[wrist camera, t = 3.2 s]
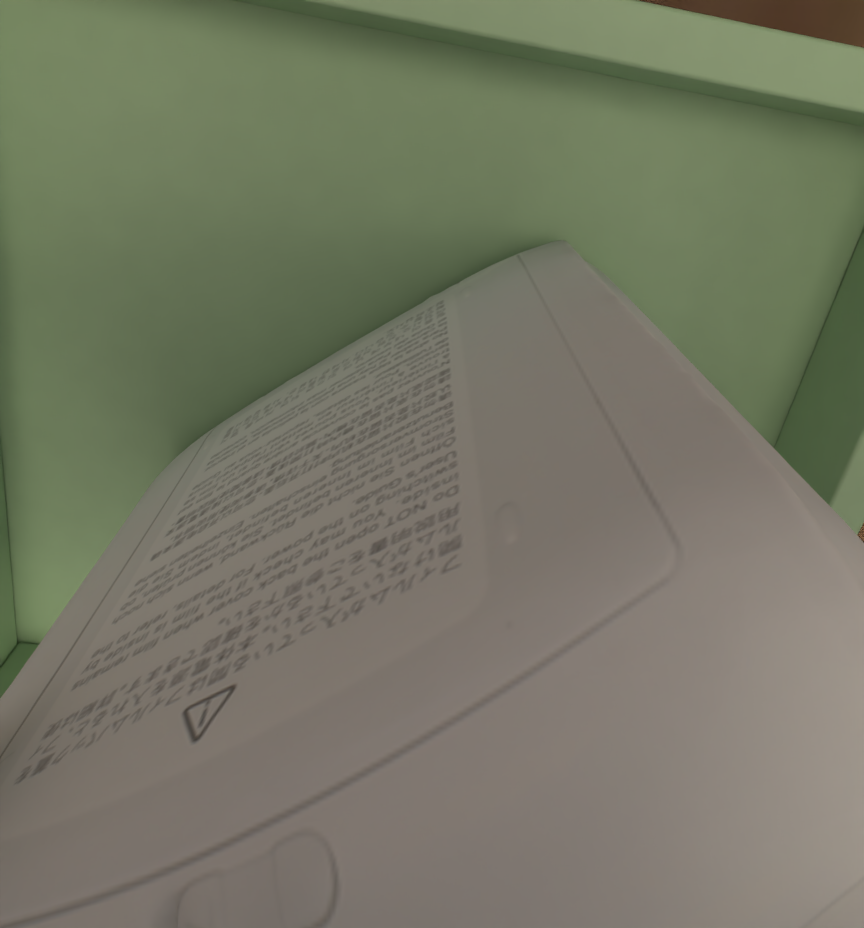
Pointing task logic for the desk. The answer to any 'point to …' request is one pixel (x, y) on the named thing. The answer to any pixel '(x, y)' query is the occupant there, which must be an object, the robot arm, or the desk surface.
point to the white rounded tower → (456, 652)
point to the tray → (393, 221)
